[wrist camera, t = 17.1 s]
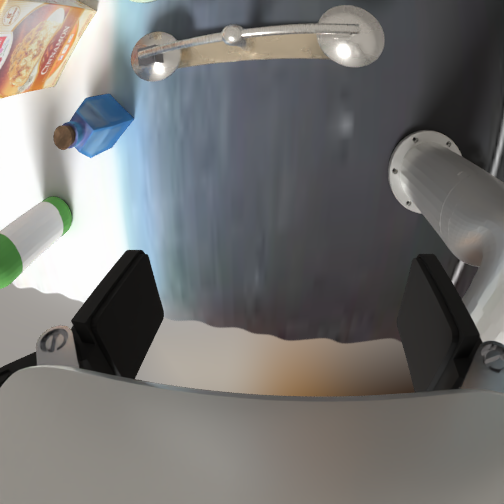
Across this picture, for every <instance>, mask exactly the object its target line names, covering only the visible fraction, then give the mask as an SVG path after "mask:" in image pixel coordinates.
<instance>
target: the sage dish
mask: <svg viewBox="0 0 504 504" xmlns="http://www.w3.org/2000/svg"><path fill="white" fill-rule="evenodd" d="M130 1H133V2H137V3H149V2H153V1H157V0H130Z"/></svg>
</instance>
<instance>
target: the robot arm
mask: <svg viewBox="0 0 504 504" xmlns="http://www.w3.org/2000/svg"><path fill="white" fill-rule="evenodd" d="M414 137H415V140H413V138H414ZM446 143H447V144H446ZM394 168H395V170H394V171H392V170H393V169H394ZM388 180H389V184H390V187H391V190H392V192H393V194H394V195H395V197H396V198H397V200H398V201H399V202H400V203H401V204H402V205H403V206H404V207H405V208H407V209H409V210H411V211H413V212H417V213H422V214H423V215H424V216H425V218H426V219H427V220H428V221H429V223H430V224H431V225H432V227H433V228H434V229H435V231H436V232H437V233H438V234H439V236H440V237H441V238H442V240H443V241H444V243H445V244H446V245H447V247H448V248H449V249H450V251H451V252H452V253H453V254H454V255H455V256H456V257H457V258H458V259H460V260H461V261H463V262H465V263H467V264H469V265H472V266H478V267H479V269H478V271H477V273H476V275H475V276H474V278H473V280H472V282H471V285H470V287H469V288H468V290H467V292H466V293H465V295H464V297H463V298H462V299H461V297H460V296H459V294H458V292H457V290H456V289H455V287H454V285H453V283H452V282H451V280H450V278H449V277H448V275H447V273H446V272H445V270H444V269H443V267H442V265H441V264H440V262H439V260H438V259H437V257H436V256H435V255H434V254H419V255H418V256H417V258H414V259H413V260H412V264H411V268H410V272H409V277H408V281H407V285H406V288H405V292H404V296H403V300H402V303H401V307H400V310H399V314H398V317H397V327H398V330H399V334H400V337H401V341H402V344H403V348H404V351H405V355H406V358H407V362H408V366H409V370H410V374H411V378H412V382H413V386H414V391H415V393H406V394H390V395H374V396H348V397H300V396H273V395H256V394H242V393H230V392H220V391H211V390H202V389H194V388H186V387H178V386H172V385H165V384H159V383H153V382H147V381H142V380H136V379H135V377H136V375H137V373H138V371H139V368H140V366H141V364H142V362H143V360H144V358H145V356H146V354H147V352H148V349H149V347H150V345H151V343H152V341H153V339H154V337H155V335H156V333H157V331H158V329H159V327H160V325H161V323H162V320H163V317H164V311H163V307H162V304H161V300H160V297H159V293H158V290H157V286H156V283H155V279H154V275H153V272H152V268H151V264H150V260H149V257H148V255H147V254H145V253H144V252H143V251H142V250H127V251H126V252H125V253H124V254H123V255H122V257H121V258H120V259H119V260H118V261H117V263H116V264H115V265H114V266H113V267H112V269H111V270H110V271H109V272H108V274H107V275H106V276H105V277H104V279H103V280H102V281H101V282H100V284H99V285H98V286H97V287H96V289H95V290H94V291H93V293H92V294H91V295H90V296H89V298H88V299H87V300H86V302H85V303H84V304H83V306H82V307H81V308H80V309H79V311H78V312H77V313H76V315H75V316H74V318H73V319H72V320H71V321H72V323H73V327H72V329H70V328H68V327H67V326H55V327H52V328H50V329H48V330H46V331H45V332H44V333H43V334H42V335H41V336H40V337H39V339H38V341H37V344H36V352H34V353H32V354H30V355H27V356H25V357H23V358H21V359H18V360H16V361H14V362H12V363H9V364H7V365H5V366H3V367H1V368H0V504H504V183H503V182H502V181H500V180H499V179H497V178H496V177H494V176H492V175H491V174H489V173H488V172H486V171H485V170H483V169H482V168H480V167H478V166H477V165H475V164H474V163H472V162H470V161H469V160H467V159H465V158H464V157H462V155H461V152H460V151H459V149H458V147H457V146H456V144H455V143H454V142H453V141H452V140H451V139H450V138H448V137H447V136H445V135H443V134H442V133H439V132H436V131H432V130H420V131H417V132H414V133H411V134H410V135H408V136H406V137H405V138H404V139H403V140H401V141H400V142H399V144H398V145H397V146H396V148H395V149H394V151H393V153H392V155H391V158H390V161H389V167H388ZM407 201H408V202H407ZM406 202H407V203H406Z"/></svg>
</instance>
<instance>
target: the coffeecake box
mask: <svg viewBox="0 0 504 504" xmlns="http://www.w3.org/2000/svg"><path fill="white" fill-rule="evenodd" d="M96 12H97V11H96V10H94V9H92V8H90V7H88V6H87V5H85V4H83V3H82V2H80V1H78V0H0V98H4V97H8V96H12V95H16V94H21V93H25V92H29V91H34V90H39V89H44V88H50V87H55V85H56V83H57V81H58V79H59V77H60V75H61V73H62V71H63V69H64V67H65V65H66V63H67V61H68V59H69V57H70V55H71V53H72V52H73V50H74V48H75V46H76V44H77V43H78V41H79V39H80V37H81V36H82V34H83V32H84V31H85V29H86V27H87V26H88V24H89V22H90V21H91V19H92V18H93V16H94V15H95V13H96Z"/></svg>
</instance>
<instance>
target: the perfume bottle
mask: <svg viewBox="0 0 504 504" xmlns="http://www.w3.org/2000/svg"><path fill="white" fill-rule="evenodd" d="M133 120H134V118H133V117H132V116H131V115H130V114H129V113H128V112H127V111H126V110H125V109H124V108H123V107H122V106H121V105H120V104H119V103H118V102H117V101H116V100H115V99H114V98H113V97H112V96H111V95H110V94H104V95H98V96H93V97H88V98H86V99H85V100H84V101H83V103H82V104H81V105H80V107H79V108H78V109H77V111H76V112H75V114H74V115H73V117H72V119H71V120H70V122H67V123H64V124H63V125H62V126H59V127H57V128H56V130H55V132H54V142H55V145H56V146H57V147H58V148H59V149H61V150H65V149H67V148H72V147H75V148H76V149H77V150H78V151H79V152H80V153H82V154H84V155H86V156H88V157H90V158H91V157H93V156H95V155H97V154H99V153H101V152H103V151H105V150H108V149H110V148H112V147H113V145H114V144H115V143H116V141H117V140H118V139H119V137H120V136H121V135H122V134H123V132H124V131H125V130H126V129H127V127H128V126H129V125H130V124H131V122H132V121H133Z"/></svg>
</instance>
